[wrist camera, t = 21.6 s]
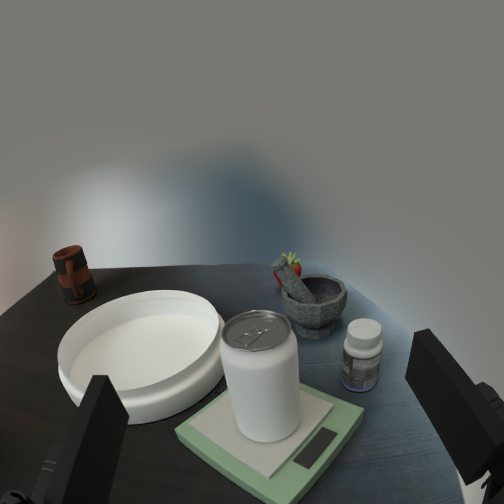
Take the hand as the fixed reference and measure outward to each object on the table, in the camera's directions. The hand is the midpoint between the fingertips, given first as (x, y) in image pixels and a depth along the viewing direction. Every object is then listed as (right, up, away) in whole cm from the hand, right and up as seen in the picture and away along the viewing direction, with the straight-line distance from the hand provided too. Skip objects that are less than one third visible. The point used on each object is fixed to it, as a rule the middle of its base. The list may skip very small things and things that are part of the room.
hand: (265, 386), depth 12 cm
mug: (-40, -6, +55) cm, 68 cm away
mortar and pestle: (+9, -7, +37) cm, 39 cm away
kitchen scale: (+2, -15, +18) cm, 24 cm away
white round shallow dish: (-17, -11, +33) cm, 39 cm away
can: (+1, -12, +17) cm, 21 cm away
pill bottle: (+13, -11, +25) cm, 30 cm away
